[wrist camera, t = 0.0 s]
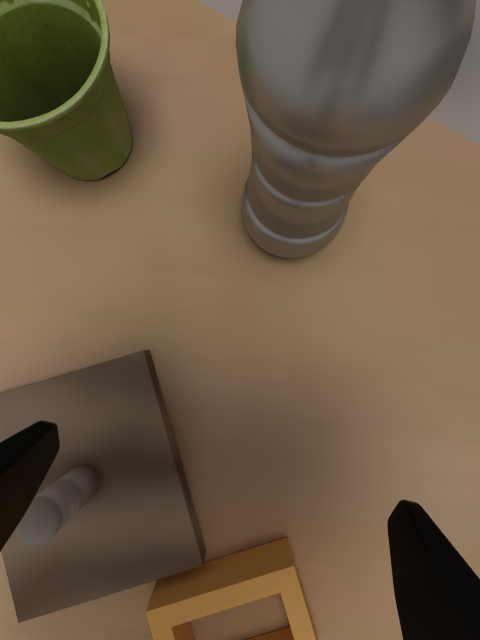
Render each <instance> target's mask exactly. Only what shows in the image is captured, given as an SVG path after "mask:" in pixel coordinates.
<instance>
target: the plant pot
mask: <svg viewBox="0 0 480 640" xmlns="http://www.w3.org/2000/svg"><path fill="white" fill-rule="evenodd" d="M109 45H110V32H109V23H108V19H107V14H106V11H105V8H104V5H103V2H102V0H0V134H3V135H5V136H9V137H11V138H13V139H14V140H16V141H18V142H19V143H21V144H22V145H24V146H25V147H27V148H28V149H30V150H32V151H33V152H35V153H36V154H38V155H39V156H41V157H42V158H44V159H45V160H47V161H48V162H49V163H51V164H52V165H54V166H55V167H57V168H59V169H60V170H62V171H63V172H65V173H66V174H68V175H69V176H71V177H74V178H77V179H81V180H98V179H101V178H103V177H104V176H105V175H107V174H109V173H111V172H113V171H115V170H117V169H119V168H120V167H121V166H122V165H123V164H124V163H125V161H126V159H127V158H128V156H129V153H130V151H131V147H132V131H131V127H130V124H129V121H128V118H127V114H126V111H125V108H124V105H123V102H122V99H121V96H120V93H119V89H118V86H117V83H116V80H115V77H114V73H113V70H112V67H111V64H110V51H109Z"/></svg>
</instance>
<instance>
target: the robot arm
mask: <svg viewBox="0 0 480 640" xmlns="http://www.w3.org/2000/svg"><path fill="white" fill-rule="evenodd" d="M59 448H60V441H59V433H58V426H57V424H56V423H53V422H48V421H43V420H41V421H38V422H36V423H34V424H32V425H30V426H29V427H27V428H25V429H23V430H21V431H20V432H18V433H16V434H14V435H12V436H11V437H9V438H7V439H5V440H3V441H2V442H0V552H1V550H2V549H3V547H4V545H5V544H6V542H7V541H8V539H9V538H10V536H11V535H12V533H13V532H14V530H15V529H16V527H17V526H18V524H19V523H20V521H21V520H22V518H23V516H24V515H25V513H26V512H27V510H28V508H29V506H30V505H31V503H32V501H33V499H34V497H35V495H36V493H37V491H38V490H39V488H40V486H41V484H42V482H43V480H44V478H45V476H46V475H47V473H48V471H49V469H50V467H51V465H52V463H53V461H54V459H55V458H56V456H57V454H58V451H59ZM388 537H389V547H390V556H391V566H392V576H393V585H394V593H395V599H396V605H397V610H398V615H399V620H400V625H401V630H402V635H403V640H480V579H479V578H478V576H477V575H476V574H475V573H474V571H473V570H472V569H471V568H470V566H469V565H468V564H467V563H466V561H465V560H464V559H463V558H462V556H461V555H460V554H459V553H458V551H457V550H456V549H455V548H454V546H453V545H452V544H451V543H450V541H449V540H448V539H447V538H446V536H445V535H444V534H443V533H442V532H441V530H440V529H439V528H438V527H437V525H436V524H435V523H434V522H433V520H432V519H431V518H430V517H429V515H428V514H427V513H426V512H425V510H424V509H423V508H422V507H421V506H420V505H419V504H418V503H416V502H412V501H407V500H401V501H399V503H398V504H397V506H396V507H395V509H394V510H393V512H392V514H391V515H390V517H389V519H388Z"/></svg>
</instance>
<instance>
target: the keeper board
mask: <svg viewBox="0 0 480 640" xmlns="http://www.w3.org/2000/svg"><path fill="white" fill-rule="evenodd" d="M41 420H43V421H48V422H53V423H56V424H57V426H58V433H59V441H60V448H59V451H58V454H57V456H56V458H55V459H54V461H53V463H52V465H51V467H50V469H49V471H48V473H47V475H46V476H45V478H44V480H43V482H42V484H41V486H40V488H39V490H38V491H37V493H36V495H35V497H34V499H33V501H32V503H31V505H30V506H29V508H28V510H27V512H26V513H25V515H24V516H23V518H22V520H21V521H20V523H19V524H18V526H17V527H16V529H15V530H14V532H13V533H12V535H11V536H10V538H9V539H8V541H7V542H6V544H5V545H4V547H3V549H2V555H3V559H4V563H5V568H6V572H7V576H8V580H9V585H10V589H11V593H12V597H13V602H14V606H15V610H16V614H17V619H18V623H19V622H23V621H26V620H29V619H32V618H35V617H39V616H42V615H45V614H48V613H52V612H55V611H58V610H61V609H64V608H68V607H71V606H74V605H77V604H80V603H84V602H87V601H90V600H93V599H97V598H100V597H103V596H106V595H109V594H113V593H116V592H119V591H122V590H125V589H129V588H132V587H135V586H138V585H142V584H145V583H148V582H151V581H154V580H158V579H161V578H164V577H167V576H171V575H174V574H177V573H180V572H183V571H187V570H190V569H193V568H196V567H199V566H203V564H204V559H205V553H206V550H205V546H204V542H203V539H202V535H201V532H200V528H199V525H198V521H197V517H196V514H195V510H194V507H193V503H192V500H191V496H190V493H189V489H188V485H187V482H186V478H185V475H184V471H183V468H182V464H181V460H180V457H179V453H178V450H177V446H176V443H175V439H174V435H173V432H172V428H171V425H170V421H169V418H168V414H167V411H166V407H165V403H164V400H163V396H162V393H161V389H160V386H159V382H158V378H157V375H156V371H155V368H154V364H153V361H152V357H151V353H150V350H145V351H140V352H137V353H134V354H130V355H127V356H124V357H121V358H117V359H114V360H111V361H107V362H104V363H101V364H97V365H94V366H91V367H87V368H84V369H81V370H78V371H74V372H71V373H68V374H64V375H61V376H58V377H54V378H51V379H48V380H45V381H41V382H38V383H35V384H31V385H28V386H25V387H21V388H18V389H15V390H11V391H8V392H5V393H2V394H0V442H2V441H3V440H5V439H7V438H9V437H11V436H12V435H14V434H16V433H18V432H20V431H21V430H23V429H25V428H27V427H29V426H30V425H32V424H34V423H36V422H38V421H41Z"/></svg>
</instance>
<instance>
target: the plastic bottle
mask: <svg viewBox="0 0 480 640" xmlns="http://www.w3.org/2000/svg"><path fill="white" fill-rule="evenodd" d="M475 8H476V0H242V4H241V8H240V12H239V16H238V20H237V24H236V50H237V59H238V69H239V74H240V79H241V84H242V88H243V93H244V98H245V103H246V107H247V112H248V117H249V122H250V128H251V145H252V163H251V168H250V174H249V177H248V179H247V181H246V183H245V187H244V191H243V195H242V199H241V214H242V219H243V222H244V224H245V227H246V229H247V231H248V233H249V235H250V236H251V238H252V239H253V240H254V242H255V243H256V244H257V245H258V246H259V247H260V248H262V249H263V250H265V251H266V252H268V253H270V254H272V255H275V256H278V257H283V258H299V257H304V256H307V255H310V254H312V253H314V252H316V251H318V250H320V249H322V248H323V247H325V246H326V245H328V244H329V243H330V242H331V241H332V240H333V239H334V238H335V236H336V235H337V233H338V232H339V230H340V228H341V226H342V224H343V221H344V219H345V216H346V214H347V209H348V204H349V202H350V200H351V198H352V196H353V194H354V192H355V190H356V188H357V187H358V186H359V185H360V183H361V182H362V181H363V180H364V179H365V178H366V176H367V175H368V174H369V173H370V171H371V170H372V169H373V168H374V167H375V165H376V164H377V163H378V162H379V161H380V160H381V159H383V158H384V157H385V156H386V155H387V154H388V153H389V152H390V151H391V150H392V149H393V148H395V147H396V146H397V145H398V144H399V143H400V142H401V141H402V140H403V139H404V138H405V137H407V136H408V135H409V134H410V133H411V132H412V131H413V130H414V129H416V128H417V127H418V126H419V125H420V124H421V123H422V122H423V121H424V120H425V119H426V118H427V116H428V115H429V114H430V113H431V112H432V111H433V110H434V109H435V108H436V107H437V106H438V105H439V103H440V102H441V101H442V99H443V97H444V96H445V95H446V94H447V92H448V91H449V89H450V88H451V86H452V84H453V82H454V80H455V77H456V75H457V72H458V70H459V68H460V65H461V63H462V60H463V57H464V55H465V52H466V50H467V47H468V44H469V42H470V39H471V35H472V30H473V24H474V18H475Z"/></svg>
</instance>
